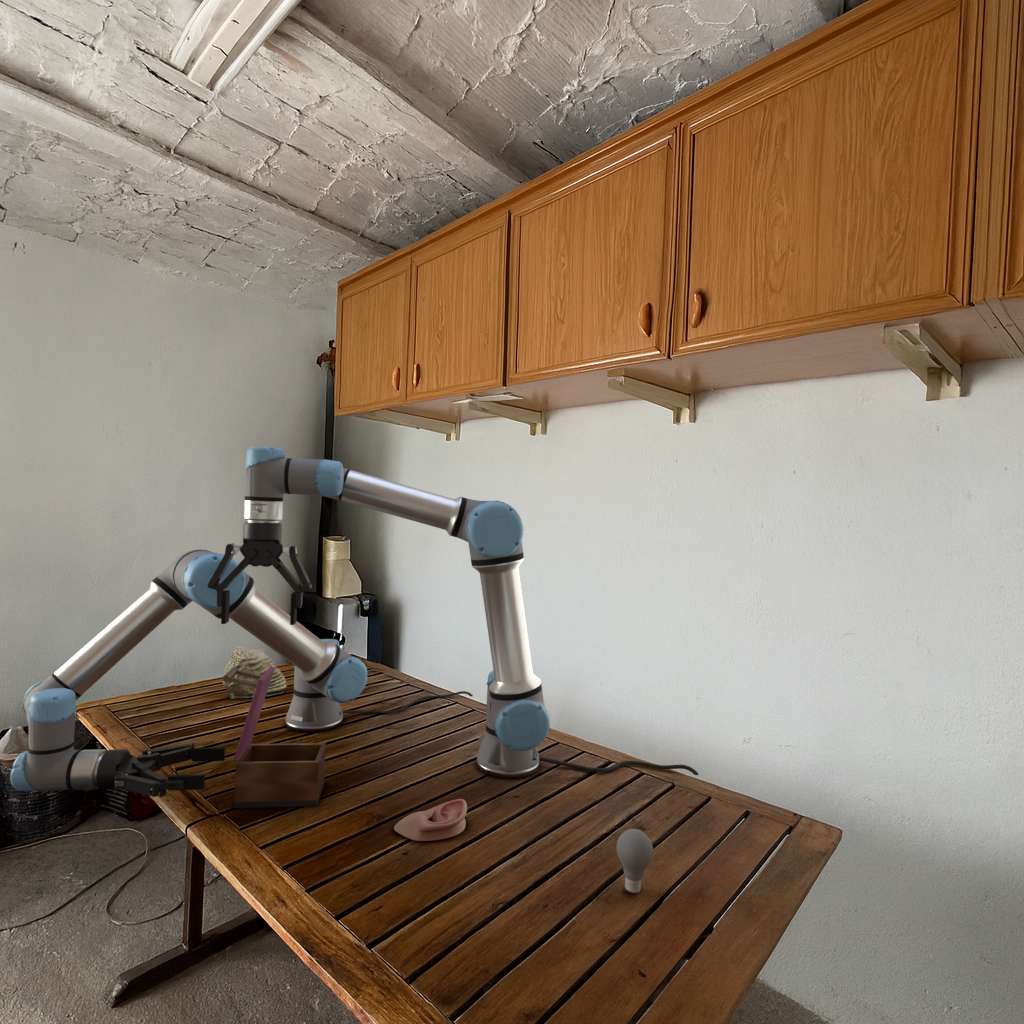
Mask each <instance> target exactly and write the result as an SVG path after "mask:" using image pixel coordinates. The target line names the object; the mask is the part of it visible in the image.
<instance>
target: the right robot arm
mask: <svg viewBox="0 0 1024 1024" xmlns="http://www.w3.org/2000/svg"><path fill="white" fill-rule="evenodd" d="M285 494H286V495H301V496H302V495H303V496H321V497H326V498H330V499H333V500H337V501H342V502H345V503H348V504H352V505H356V506H359V507H362V508H365V509H370V510H373V511H377V512H380V513H384V514H387V515H391V516H395V517H398V518H401V519H405V520H409V521H411V522H415V523H420V524H423V525H427V526H430V527H433V528H436V529H441V530H444V531H446V532H447V535H448V536H450V537H454V538H457V539H460V540H462V541H464V542H466V543H468V549H469V555H470V563H471V567H472V568H473V569H474V570H476V571H477V572H478V574H479V577H480V585H481V593H482V599H483V606H484V612H485V621H486V628H487V635H488V641H489V649H490V655H491V662H492V669H493V670H491V671H490V672H489V673H488V675H487V682H486V685H487V689H486V691H487V692H486V711H485V712H486V713H485V731H484V733H482V734H481V735H480V736H478V738H477V743H480V742H481V743H480V746H479V747H478V748H479V749H478V752H477V754H476V767H477V768H478V769H479V771H481V772H482V773H485V774H487V775H490V776H493V777H498V778H503V779H504V778H505V779H517V778H526V777H528V776H531V775H534V774H535V773H536V772H537V771H539V769H540V762H545V763H549V764H553V765H558V766H561V767H566V768H571V769H576V770H580V771H585V772H591V773H608V772H612V771H615V770H616V769H618V768H620V767H623V766H632V765H633V766H641V767H646V768H651V769H658V770H678V769H679V770H687V771H689V772H690V773H692V775H694V776H699V775H700V774H699V773H698V770H697V769H696V770H697V771H696V770H695V769H694V768H693V767H692V766H689V765H687V764H666V765H664V764H657V763H652V762H651V763H650V762H645V761H640V760H622V761H619V762H617V763H615V764H613V765H611V766H608V767H590V766H585V765H581V764H576V763H572V762H567V761H562V760H559V759H554V758H549V757H544V756H540V755H539V750H538V748H537V747H539V746H540V745H541V744H542V743H543V742H544V741H545V739H546V738H547V736H548V734H549V732H550V726H551V721H550V713H549V711H548V709H547V708H546V706H545V699H544V692H543V686H542V685H543V684H542V679H541V678H540V677H538V676H537V675H536V674H535V673H534V669H533V664H532V663H533V661H532V655H531V649H530V642H529V641H530V640H529V633H528V628H527V627H528V626H527V619H526V613H525V604H524V598H523V591H522V583H521V575H520V569H519V567H520V565H522V563H523V561H524V560H525V555H524V548H523V537H524V524H523V521H522V518H521V516H520V514H519V513H518V511H517V510H516V509H515V508H514V507H512V505H510V504H508V503H506V502H504V501H501V500H477V499H471V498H467V497H464V496H458V497H456V498H451V497H448V496H444V495H442V494H437V493H434V492H430V491H427V490H423V489H420V488H416V487H412V486H409V485H405V484H402V483H399V482H395V481H392V480H388V479H385V478H381V477H377V476H374V475H370V474H367V473H363V472H360V471H356V470H353V469H348V468H346V467H344V465H343V463H342V461H339V460H332V459H315V458H314V459H310V458H290V457H287V456H286V453H285V449H283V448H280V447H274V446H273V447H270V446H251V447H249V448H248V449H247V451H246V459H245V467H244V501H243V519H244V520H246V521H245V522H244V523H243V524H242V527H243V528H242V543H241V545H240V544H235V543H233V542H231V543H227V544H226V545H225V549H224V554H223V555H224V557H223V558H222V560H221V562H220V564H219V565H218V567H217V569H216V571H215V572H214V574H213V576H212V578H211V579H210V581H209V583H208V585H207V586H208V588H212V589H215V590H216V591H217V606H218V607H222V612H221V619H220V624H221V625H226V624H227V623H229V622H230V618H229V604H230V590H226V591H225V589H226V588H227V587H228V586H229V585H230V584H231V583H232V582H233V581H234V580H235V579H236V578H237V577H238V575H239V574H240V573H241V572H242V571H245V569H246V568H247V567H249V566H252V567H260V566H261V567H264V568H269V567H271V566H272V567H273V568H274V569H275V570H276V571H277V572H278V573H279V574H280V576H281V577H282V578H283V579H284V580H285V581H286V583H287V584H288V585H289V587H291V589H292V590H293V592H292V593H291V594H290V615H289V616H290V625H294V624H295V623H296V621H297V616H298V613H297V612H298V609H301V608H302V606H303V596H304V595H303V594H304V593H305V592H307V591H309V590H311V589H312V588H313V585H312V582H311V580H310V578H309V576H308V574H307V572H306V570H305V568H304V565H303V564H302V563H303V562H302V561H301V559H300V557H299V552H298V546H297V545H295V544H294V545H290V546H283V543H282V542H283V541H282V540H283V524H282V523H281V522H280V521H282V520H283V518H284V517H283V514H284V512H283V511H284V495H285ZM238 552H240V554H242V556H243V557H244V558H243V559H242V560H241V561H240V562H239V563H238V566H237V567H236V568H235V569H234V570H233V571H232V572H231V573H230V574H229V575H228V576H227V577H226V578H225V579H224V581H223V582H222V583H221V584H220V583H219V581H220V579H221V577H222V576H223V574H224V572H225V570H226V569H227V567H228V565H229V563H230V562H231V560H232V559H234V556H236V555H237V554H238ZM284 553H285V554H286V556H287V557H289V559H290V562H291V564H292V566H293V568H294V570H295V572H296V574H297V576H298V579H299V581H300V582H299V581H298V580H297V579H296V577H295V576H294V575H293V574H292V573H291V571H290V570H289V569H288V568H287V566H286V565H285V564H284V562H283V561H282V560H281V558H280V557H281V556H282V555H283V554H284Z"/></svg>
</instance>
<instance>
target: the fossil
mask: <svg viewBox="0 0 1024 1024" xmlns="http://www.w3.org/2000/svg"><path fill="white" fill-rule="evenodd" d="M270 666H272V667H275V668H274V672H273V675H272V678H271V681H270V684H269V688H268V691H267V694H266V697H271V696H275V695H281V694H284V693H285V691H286V689H287V687H288V686H287V680H286V678H285V676H284V674H283V673H282V672H281V669H279V668H278V667H277V665H276V663H275V662H274V660H273V659H272V658H271V657H270V656H269V655H268V654H267V653H266V652H265V650H264V649H263V648H260V647H258V648H251V647H247V646H246V647H245V646H238V647H237V648H236V649H235V650H233V651H232V653H231V656H230V657H229V659H228V660H227V663H226V666H225V668H224V671H223V675H222V677H223V676H224V675H225V674H226V673H227V672H228V671H229V670H230V669H231V668H233V667H236V668H237V669H238V670H240V671H244V672H248V673H251V674H255V675H259V676H262V675H263V674H264V673H265V672H266V671H267V670H268V668H269V667H270ZM233 678H237V679H241V680H245V681H249V682H253V683H257V684H258V679H254V678H250V677H246V676H242V675H238V674H235V675H234V676H233ZM222 685H223V687H224V688H225V690H226V691H228V693H229V698H230V699H250V698H252V699H253V696H254V693H255V690H256V688H255V687H251V686H247V685H243V684H239V683H235V682H231V681H228V682H224V681H223V680H222Z"/></svg>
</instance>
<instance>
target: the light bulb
mask: <svg viewBox="0 0 1024 1024" xmlns="http://www.w3.org/2000/svg"><path fill="white" fill-rule="evenodd" d="M615 849H616V854H617V857H618V859H619V861H620V863H621V865H622V867H623V873H624V874H623V875H624V876H625V878H624V888H625V890H627V891H628V892H630V893H634V894H635V893H639V892H640V891H641V889H642V887H641V886H642V879H643V877H644V875H645V871H646V868H647V867H648V866H649V864H650V863H651V861H652V859H653V855H654V847H653V843H652V841H651V838H649V836H648V835H647V834H646V833H645V832H643V831H642V830H641V829H636V828H629V829H627V830H625V831H623V832H622V833H621V834H620V835H619V837H618V839H617V841H616V847H615Z"/></svg>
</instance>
